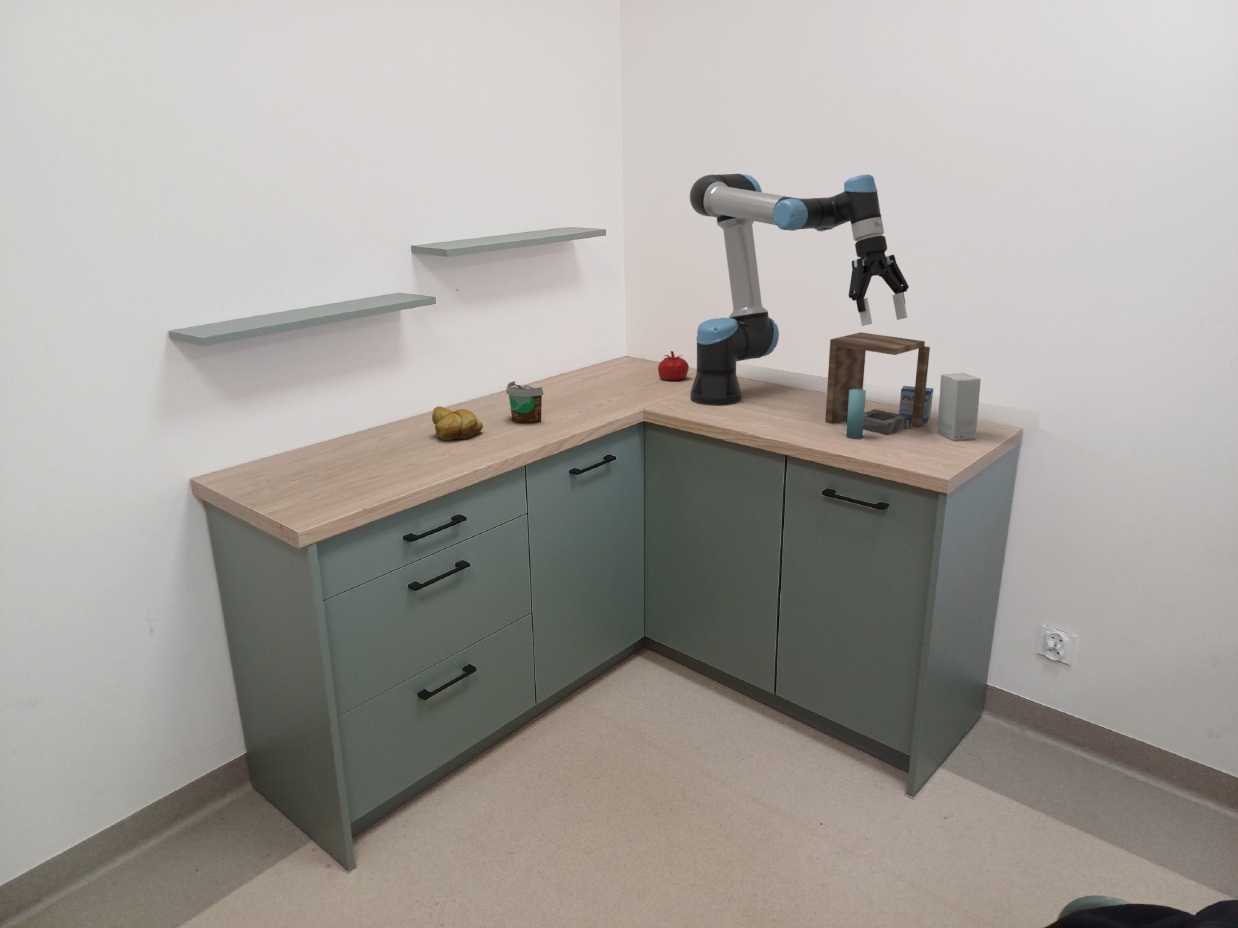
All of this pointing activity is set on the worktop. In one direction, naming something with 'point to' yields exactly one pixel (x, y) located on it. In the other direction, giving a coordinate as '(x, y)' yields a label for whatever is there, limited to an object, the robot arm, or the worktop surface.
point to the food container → (525, 403)
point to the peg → (855, 413)
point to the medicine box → (908, 401)
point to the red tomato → (673, 368)
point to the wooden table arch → (850, 375)
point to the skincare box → (958, 406)
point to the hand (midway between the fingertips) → (884, 322)
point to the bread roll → (455, 423)
